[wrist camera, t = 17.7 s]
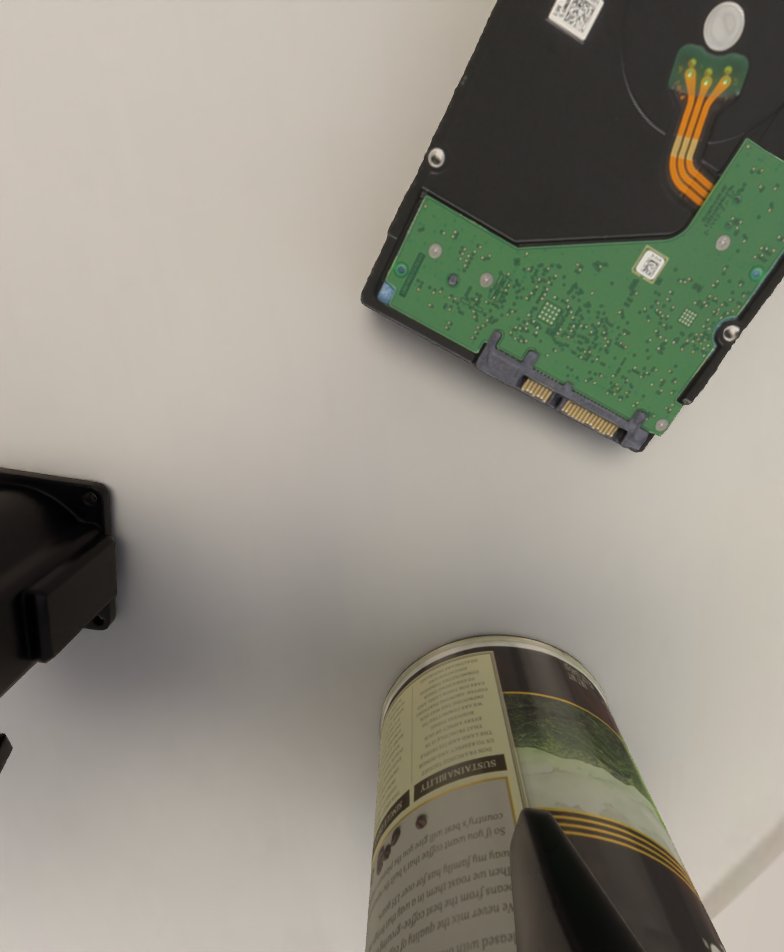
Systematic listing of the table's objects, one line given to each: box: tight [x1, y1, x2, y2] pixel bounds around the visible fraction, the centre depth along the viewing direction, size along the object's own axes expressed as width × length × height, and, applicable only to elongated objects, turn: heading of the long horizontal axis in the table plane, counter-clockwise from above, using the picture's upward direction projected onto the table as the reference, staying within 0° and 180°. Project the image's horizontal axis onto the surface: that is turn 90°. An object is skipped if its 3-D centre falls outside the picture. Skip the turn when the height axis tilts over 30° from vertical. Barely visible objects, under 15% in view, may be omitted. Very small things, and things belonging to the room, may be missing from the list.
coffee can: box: [365, 635, 726, 952], centre depth 16 cm, size 10×10×14 cm
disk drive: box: [361, 0, 784, 452], centre depth 14 cm, size 10×3×15 cm
